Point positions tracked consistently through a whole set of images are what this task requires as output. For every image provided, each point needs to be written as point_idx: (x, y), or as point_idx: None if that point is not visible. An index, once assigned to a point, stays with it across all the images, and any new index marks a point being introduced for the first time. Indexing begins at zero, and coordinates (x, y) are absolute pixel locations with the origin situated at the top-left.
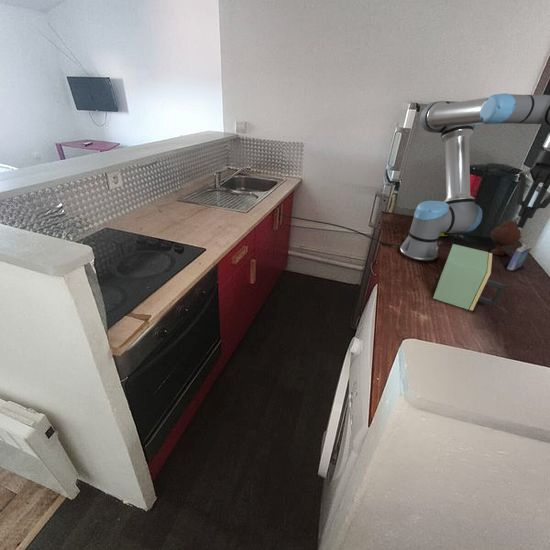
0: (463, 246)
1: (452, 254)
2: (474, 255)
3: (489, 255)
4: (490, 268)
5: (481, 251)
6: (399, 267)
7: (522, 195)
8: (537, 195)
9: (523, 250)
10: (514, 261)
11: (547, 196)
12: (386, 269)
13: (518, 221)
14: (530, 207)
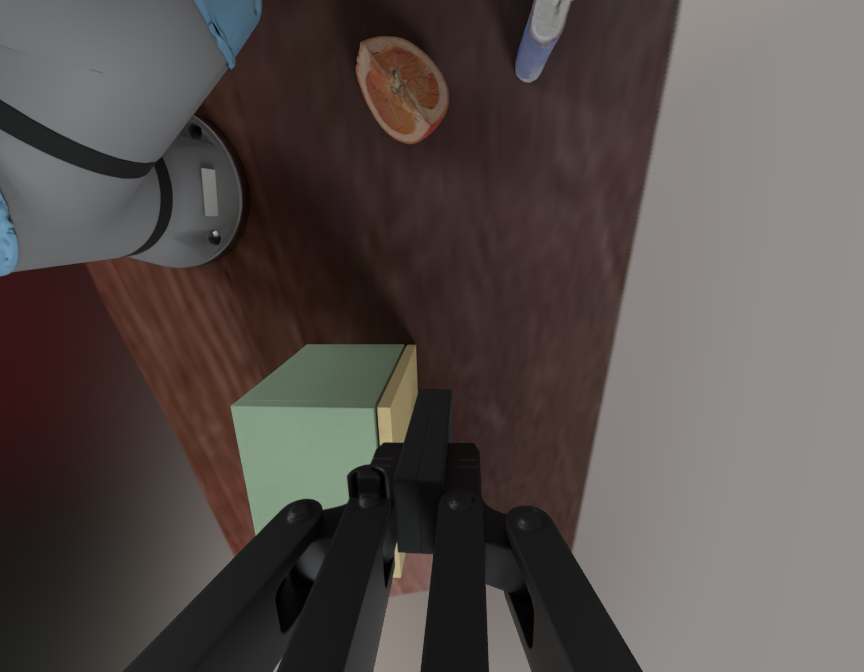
0: (273, 407)
1: (260, 511)
2: (330, 474)
3: (381, 434)
4: (396, 545)
5: (347, 417)
6: (179, 347)
7: (270, 665)
8: (428, 612)
9: (567, 5)
10: (534, 66)
11: (547, 633)
12: (157, 385)
13: (415, 402)
14: (430, 509)
